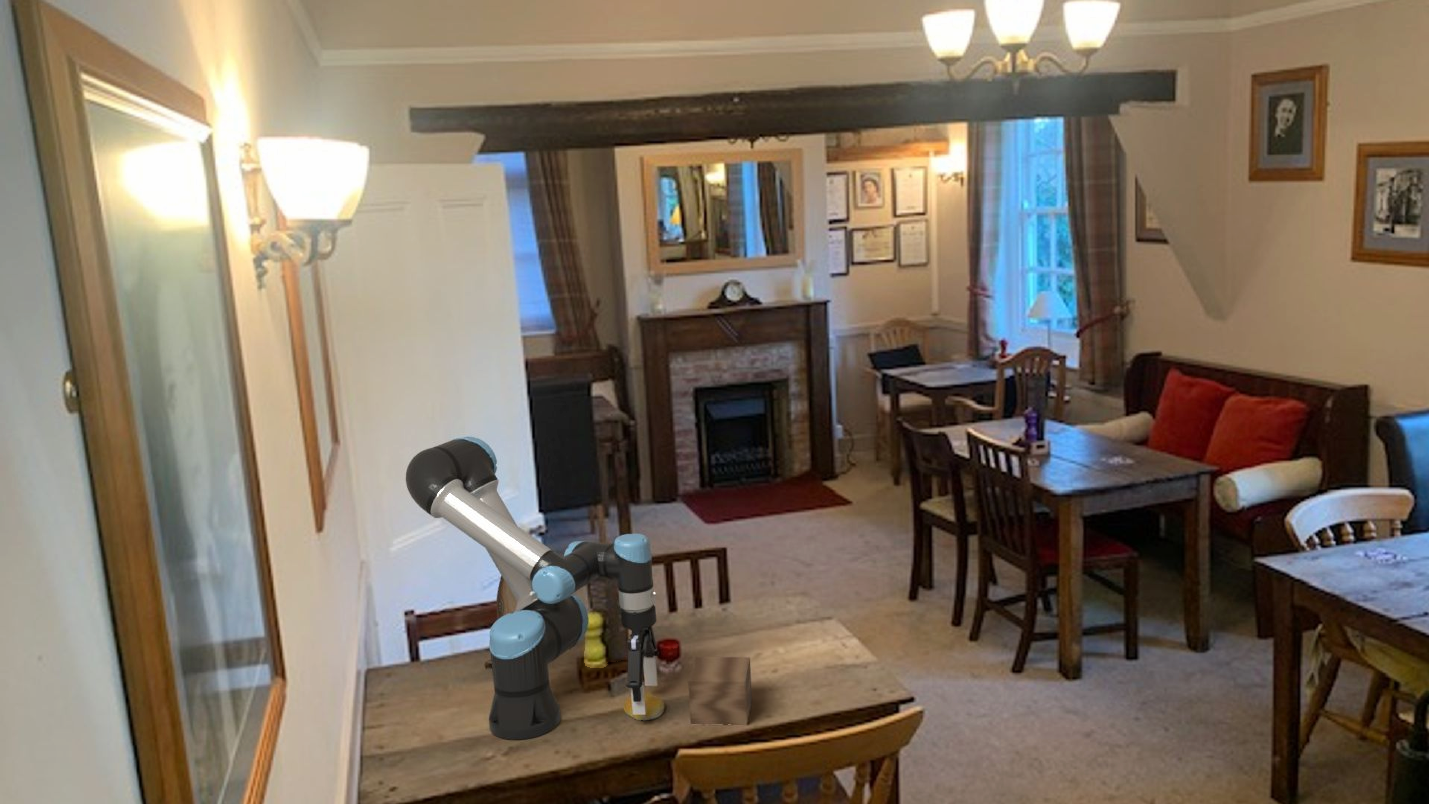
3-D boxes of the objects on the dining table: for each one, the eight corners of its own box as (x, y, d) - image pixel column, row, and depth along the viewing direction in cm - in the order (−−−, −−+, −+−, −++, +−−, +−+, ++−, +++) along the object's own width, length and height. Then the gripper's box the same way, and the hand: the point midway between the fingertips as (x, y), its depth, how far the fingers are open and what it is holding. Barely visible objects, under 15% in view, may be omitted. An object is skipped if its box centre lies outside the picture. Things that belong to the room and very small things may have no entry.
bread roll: (643, 726, 226) (641, 708, 225) (618, 712, 232) (617, 695, 232) (673, 712, 231) (672, 695, 230) (648, 699, 238) (647, 682, 237)
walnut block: (690, 725, 225) (688, 681, 223) (698, 699, 236) (695, 657, 234) (747, 726, 223) (745, 681, 221) (751, 699, 235) (749, 657, 233)
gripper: (643, 629, 214) (652, 726, 218) (665, 585, 239) (672, 674, 242) (607, 629, 215) (616, 726, 219) (632, 586, 240) (639, 674, 243)
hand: (645, 699), depth 231 cm, fingers open, 13 cm apart
